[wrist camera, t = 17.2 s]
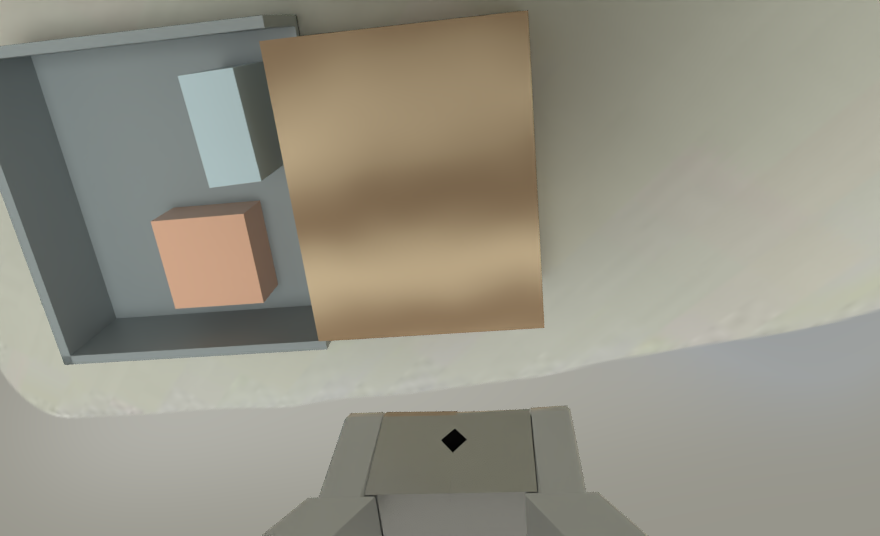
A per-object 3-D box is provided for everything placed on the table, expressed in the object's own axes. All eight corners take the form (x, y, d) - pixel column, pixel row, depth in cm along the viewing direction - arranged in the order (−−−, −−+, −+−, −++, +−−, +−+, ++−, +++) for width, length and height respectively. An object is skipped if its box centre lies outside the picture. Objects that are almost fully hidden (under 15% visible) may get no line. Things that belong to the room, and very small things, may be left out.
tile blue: (270, 59, 32) (222, 66, 32) (232, 67, 27) (177, 75, 27) (293, 157, 33) (248, 164, 34) (261, 181, 29) (209, 188, 29)
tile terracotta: (243, 213, 32) (259, 200, 34) (150, 221, 33) (173, 207, 35) (263, 303, 34) (278, 284, 36) (175, 308, 34) (195, 290, 37)
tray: (25, 46, 33) (-52, 52, 28) (295, 14, 31) (262, 14, 27) (115, 322, 39) (64, 364, 34) (347, 307, 37) (327, 349, 32)
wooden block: (299, 36, 32) (259, 41, 26) (521, 11, 30) (528, 10, 25) (344, 291, 37) (318, 341, 31) (535, 278, 36) (544, 327, 30)
